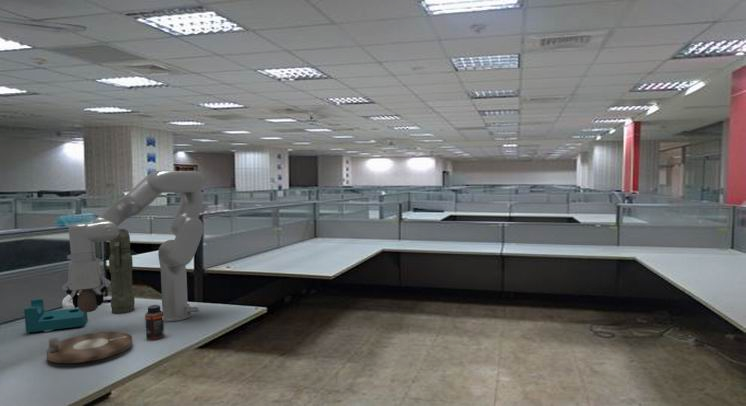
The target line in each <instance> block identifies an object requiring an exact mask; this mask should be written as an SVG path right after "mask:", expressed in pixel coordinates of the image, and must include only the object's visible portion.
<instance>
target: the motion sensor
mask: <svg viewBox="0 0 746 406" xmlns="http://www.w3.org/2000/svg"><path fill="white" fill-rule="evenodd" d="M77 294H78V295H79V294H80V293H77ZM61 304H62V305H61V306H62V308H63V310H66V309H75V308H74V305H73V300H72V297H71V296H70V295H69V294H67V295H66V296H65V297H63V299H62V303H61ZM77 308H78V307H77Z"/></svg>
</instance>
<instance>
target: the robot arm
mask: <svg viewBox="0 0 746 406" xmlns="http://www.w3.org/2000/svg"><path fill="white" fill-rule="evenodd" d="M205 184H206V179H205V177H204V175H203V174H202V173H201V172H199V171H198V170H153V171H152V172H150V173H149V174H147V175H146V176H144V177H143V179H142V180H141V181H140V182H138V183H137V184H136V185H135V186H134V187H133V188H132V189H130V190H129V191H128V192H127V193H126V194H125V195H123V196H122V197H121V198H120V199H119V200H117V201H116V202H114V203H113V204H112V205H110V206H109V207H108V208H107V209H106V210H105V211H103V212H102V213H101V214H100V215H99V216H97V217H96V218H95V219H94V220H93V222H76V223H71V224H70V225H69V226H68V236H69V238H68V239H69V247H70V254H69V255H66V258H67V260H70V262H69V263H68V270H67V276H68V278H67V281H66V282H65V283H64V284H63V285H61V289H62V290H63V291H64V292H65V293H66V294H67V295H70V296H71V297H72V300H73V305H74V308H77V307H78V305H77V298H78V296H79V295H78V294H79V291H82V290H86V289H93V290H94V291H95V292H96V293H97V294H98V295H97V305H98V307H100V306H101V305H103V303H104V302H105V301H104V292H105V291H106V290H108V288H109V287H110V286H111V280H109V279H107V278H106V277H104V275H103V271H102V267H101V264H100V260H99V259H98V258H97V255H96V254H97V253H96V244H95V242H110V240H113V239H115V238H116V237H117V236H118V234H119V229H120V228H119V226H120V225H121V224H122V223H123V222H125V221H126V220H128V219H129V218H131V217H132V216H137V215H138V214H140V213H142V212H143V211H144V210H146V209H147V208H148V207H149V206H150V205H151V204H152V203H153V202H155V200H156V199H157V198H158V197H159V196H161V195H162V194H163V193H164V194H165V193H168V194H171V193H173V194H174V193H175V194H176V193H179V195H180V202H179V204H178V208H177V210H176V213H175V215H174V218H173V220H172V222H171V226H170V230H171V233H172V234H173V235H174V236H175V238H174V239H168V240H165V241H164V242H162V243H161V245H160V246H159V247H158V253H157V256H158V261H159V262H158V263H159V268H160V284H161V285H160V286H161V287H160V288H161V307H162V308H161V311H162V312H163V315H164V323H165V322H166V323H167V322H168V323H169V322H178V321H179V322H180V321H184V320H187V319H190V318H191V317H192V316H193V313H200V307H197V306H191V305H190V303H188V283H187V281H188V279H187V277H188V275H187V268H186V266H187V265H189V264H190V263H191V261H193V259H194V257H195V255H196V252H197V250H198V247H199V245H200V242H201V239H202V236H203V234H204V225H203V222H202V220H201V219H200V218H199V217H200V213H201V211H202V208H203V201H204V200H203V193H202V190H203V188H204V187H205V186H206V185H205ZM103 284H104V285H103ZM102 285H103V286H102Z"/></svg>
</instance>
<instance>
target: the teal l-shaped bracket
mask: <svg viewBox="0 0 746 406" xmlns="http://www.w3.org/2000/svg"><path fill="white" fill-rule="evenodd" d="M44 306H45V305H44V298H33V299H31V300H30V307H24V308H23V312H24V323H25V333H26V334H28V333H35V332H43V331H45V332H46V331H51V330H59V329H68V328H78V327H84V325H85V324H87V322H88V312H82V311H81V310H80V309H79V308H75V309H66V310H65V309H57V310H49V311H47V310H46V311H45V307H44Z"/></svg>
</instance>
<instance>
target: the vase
mask: <svg viewBox="0 0 746 406" xmlns="http://www.w3.org/2000/svg"><path fill="white" fill-rule="evenodd" d="M80 291H81V292H80V293H78V294H79V296H78V298H77V305H78V308H79V309H80V310H81V311H82V312H87V313H91V312H94V311H96V310H97V309H98V307H99V306H98V305H97V295H98V293H97V292H96V290H95V289H86V290H80Z"/></svg>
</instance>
